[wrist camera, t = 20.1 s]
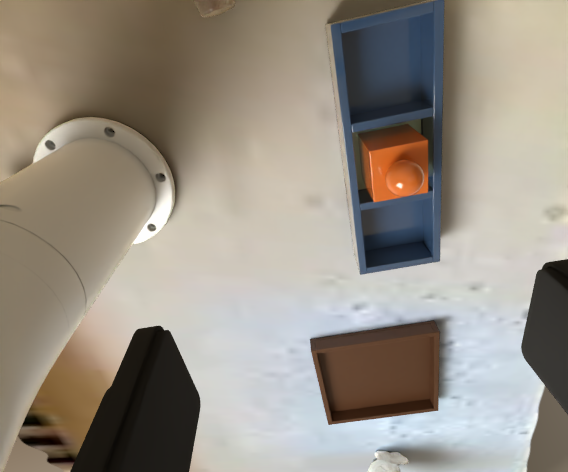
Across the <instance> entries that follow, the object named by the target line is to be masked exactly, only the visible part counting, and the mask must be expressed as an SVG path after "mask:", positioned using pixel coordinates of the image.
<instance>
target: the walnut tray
mask: <svg viewBox="0 0 568 472" xmlns="http://www.w3.org/2000/svg"><path fill="white" fill-rule="evenodd" d="M439 339H440V332H439V330H438V328H437V326H436V324H435V322H434V321H427V322H421V323H414V324H408V325H401V326H395V327H388V328H381V329H375V330H368V331H362V332H355V333H348V334H342V335H335V336H329V337H322V338H316V339H310V343H311V352H312V356H313V361H314V365H315V369H316V373H317V378H318V382H319V386H320V390H321V395H322V399H323V403H324V407H325V412H326V416H327V420H328V424H329V425H331V424H338V423H346V422H353V421H361V420H369V419H376V418H384V417H392V416H400V415H407V414H415V413H423V412H430V411H438V392H439Z"/></svg>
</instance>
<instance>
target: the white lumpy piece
mask: <svg viewBox="0 0 568 472" xmlns="http://www.w3.org/2000/svg"><path fill="white" fill-rule="evenodd" d="M374 454H375V457H376V458H377V460H376V461H374V462H372V463H371V465H370V467H369V469H368V472H400V469H399V467H398V465H399V464H404V465H405V464H408V463H409V460H408V459H407V458H406V457H404V456H402V455H401V454H400V453H399V452H391V453H389V452H386V451H376V452H375V453H374Z"/></svg>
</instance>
